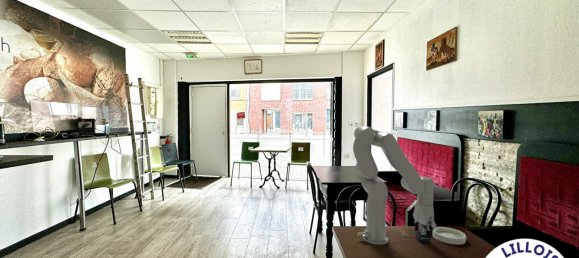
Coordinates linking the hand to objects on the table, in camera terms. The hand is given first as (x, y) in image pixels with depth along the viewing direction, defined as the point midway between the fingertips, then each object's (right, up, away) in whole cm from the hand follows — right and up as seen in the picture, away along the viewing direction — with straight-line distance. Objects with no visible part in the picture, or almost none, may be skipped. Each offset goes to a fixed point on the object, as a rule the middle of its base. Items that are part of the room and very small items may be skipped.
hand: (423, 234), depth 144 cm
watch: (0, -3, 0) cm, 3 cm away
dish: (+15, -3, +3) cm, 16 cm away
